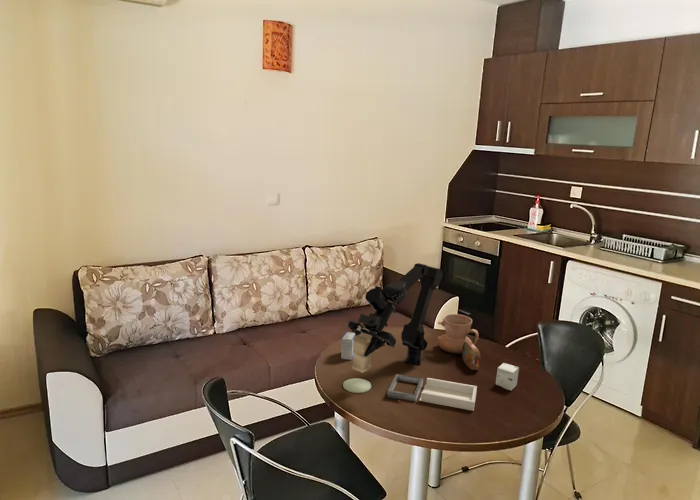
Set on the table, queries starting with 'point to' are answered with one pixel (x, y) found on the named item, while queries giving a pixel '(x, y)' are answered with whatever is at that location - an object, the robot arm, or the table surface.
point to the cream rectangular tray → (449, 394)
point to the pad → (357, 385)
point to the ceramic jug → (456, 332)
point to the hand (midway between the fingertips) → (359, 354)
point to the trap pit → (403, 395)
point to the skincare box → (507, 376)
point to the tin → (471, 355)
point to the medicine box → (347, 346)
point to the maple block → (361, 353)
